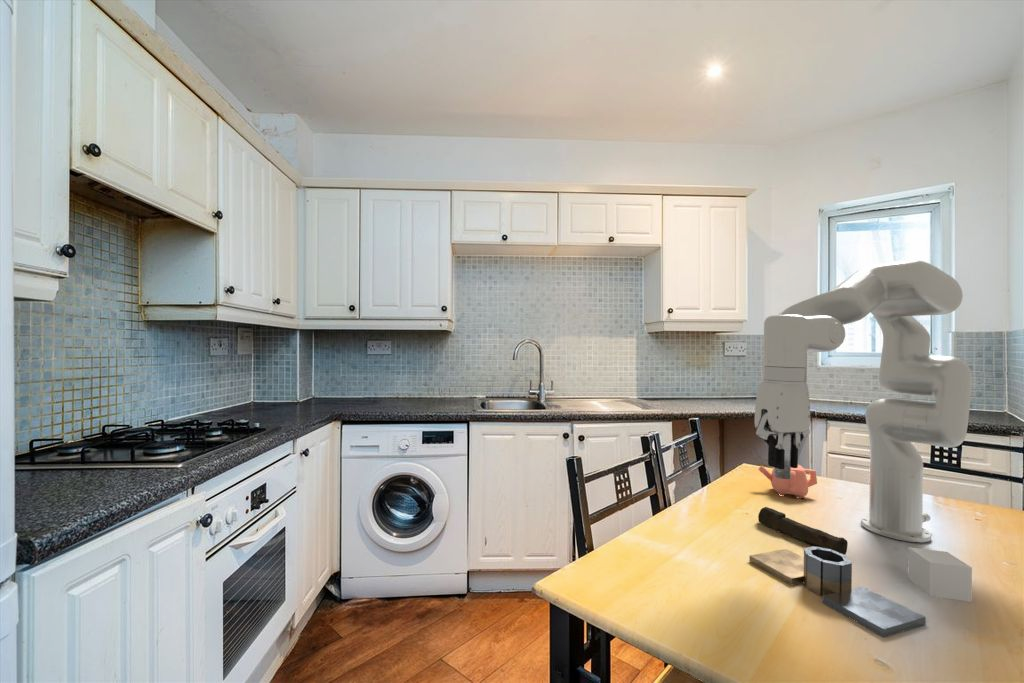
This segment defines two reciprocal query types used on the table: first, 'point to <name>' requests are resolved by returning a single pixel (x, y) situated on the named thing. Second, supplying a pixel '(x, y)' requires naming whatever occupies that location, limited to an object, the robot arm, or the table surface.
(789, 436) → the hinge pin
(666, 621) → the table surface
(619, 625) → the table surface
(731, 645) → the table surface
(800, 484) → the teapot
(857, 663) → the table surface
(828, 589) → the hinge
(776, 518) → the hand tool
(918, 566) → the light grey cube
